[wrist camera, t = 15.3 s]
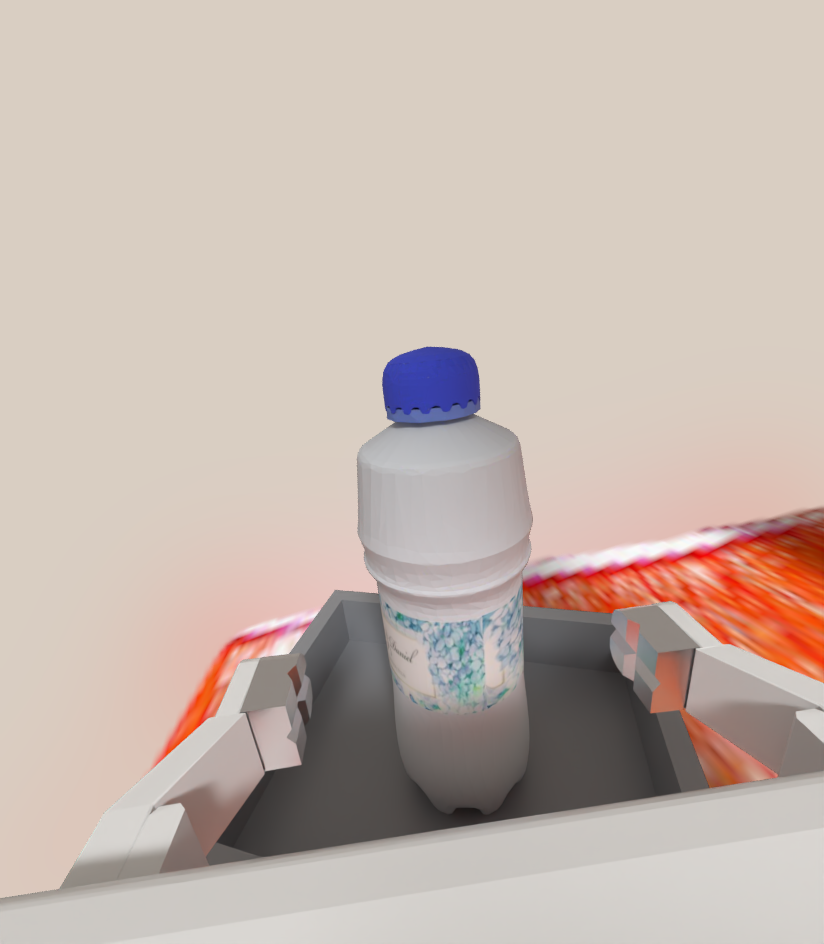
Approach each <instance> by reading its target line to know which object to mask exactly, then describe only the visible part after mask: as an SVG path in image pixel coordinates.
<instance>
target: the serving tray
mask: <svg viewBox="0 0 824 944" xmlns="http://www.w3.org/2000/svg"><path fill="white" fill-rule="evenodd" d="M611 619H612V614H610V613H598V612H587V611H575V610H563V609H552V608H540V607H528V606H523V649H524V680H525V689H526V697H527V706H528V716H529V734H530V739H529V755H528V762H527V767H526V771H525V773H524V775H523V777H522V779H521V780H520V781H519V782H518V783H515V785H514V786H513V787H512V789H511V790H510V791H509V792H508V794H507V796H506V798H505V799H504V801H503V803H502V805H501V806H500V807H499V808H498V809H497V810H496V811H494V812H492V813H491V814H488V815H485V814H483V813H482V812H481V811H480V810H479V809H477V808H456V809H455V810H454V812H453V813H452V814H446V813H444V812H441V811H439V810H438V809H437V808H436V807H435V806H434V805H433V804H432V802H431V801H430V799H429V798H428V797H427V795H426V794H425V793H424V791H423V790H422V789H421V788H420V787H419V786H418V784H417V783H416V782H414V781H413V780H412V779H410V777H409V776H408V774H407V773H406V770H405V767H404V764H403V761H402V758H401V755H400V750H399V745H398V739H397V731H396V722H395V708H394V691H393V680H392V673H391V668H390V662H389V656H388V649H387V643H386V637H385V630H384V624H383V618H382V612H381V605H380V599H379V594H376V593H365V592H353V591H340V590H335V591H334V593H333V594H332V595H331V597H330V598H329V599H328V601H327V602H326V603H325V605H324V606H323V608H322V609H321V610H320V612H319V613H318V614H317V616H316V617H315V619H314V620H313V621H312V623H311V624H310V626H309V627H308V628H307V630H306V631H305V633H304V634H303V635H302V637H301V638H300V639H299V641H298V642H297V644H296V645H295V646H294V648H293V649H292V651H291V652H290V653H289V654H296V653H302V654H303V655H304V658H305V661H306V669H305V675H306V676H307V677H309V678H310V682H311V686H312V712H311V718H310V720H309V722H308V723H307V724H306V725H305V726H304V727H305V731H306V735H307V739H306V744H305V749H304V755H303V760H302V765H297V766H292V767H286V768H281V769H275V770H269V771H264V772H265V774H264V776H263V777H262V778H261V780H260V781H259V783H258V784H257V785H256V787H255V788H254V790H253V791H252V792H251V794H250V795H249V797H248V798H247V799H246V801H245V802H244V804H243V805H242V807H241V808H240V809H239V811H238V812H237V814H236V815H235V816H234V818H233V819H232V821H231V822H230V823H229V825H228V826H227V828H226V829H225V830H224V832H223V833H222V835H221V836H220V837H219V839H218V840H217V842H216V843H215V844H214V846H213V847H212V849H211V850H210V851H209V853H208V854H207V856H206V859H207V861H208V864H209V866H211V865H218V864H224V863H231V862H237V861H244V860H250V859H257V858H263V857H269V856H276V855H282V854H289V853H295V852H302V851H308V850H315V849H321V848H327V847H334V846H340V845H347V844H353V843H360V842H366V841H373V840H379V839H385V838H392V837H398V836H405V835H411V834H418V833H424V832H431V831H437V830H444V829H450V828H456V827H463V826H469V825H476V824H482V823H489V822H495V821H502V820H508V819H515V818H521V817H528V816H534V815H541V814H547V813H554V812H560V811H567V810H573V809H580V808H586V807H592V806H599V805H605V804H612V803H618V802H624V801H631V800H637V799H643V798H650V797H656V796H662V795H669V794H675V793H682V792H688V791H694V790H701V789H707V788H709V785H708V783H707V780H706V778H705V775H704V773H703V770H702V767H701V765H700V762H699V760H698V757H697V754H696V752H695V749H694V747H693V744H692V742H691V739H690V736H689V734H688V731H687V729H686V726H685V724H684V721H683V718H682V716H681V713H680V711H679V710H675V711H667V712H658V713H650V712H649V711H648V709H647V708H646V707H645V705H644V704H643V703H642V701H641V700H640V698H639V697H638V696H637V694H636V693H635V692H634V690H633V686H634V681H632V680H631V679H629V678H627V677H625V676H624V675H622V673H621V672H620V671H619V669H618V668H617V666H616V664H615V662H614V660H613V658H612V654H611V650H610V636H611V635H612V634H613V632H614V631H615V630H616V628H615V627H614V625H613V624H612V623H611Z"/></svg>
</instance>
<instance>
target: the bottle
mask: <svg viewBox="0 0 824 944" xmlns="http://www.w3.org/2000/svg"><path fill="white" fill-rule="evenodd" d="M382 386H383V394H384V401H385V408H386V411H387V418H388V419H389V420H392V421H394V422H395V423H394V424H392V425H390V426H389V427H388V428H386V429H385V430H383V431H382V432H380V433H379V434H378V435H376V436H375V437H373V438H372V439H370V440H369V441H368V442H366V443H365V444H364V445H362V447H361V448H360V450H359V452H358V456H357V475H358V476H357V477H358V535H359V538H360V540H361V542H362V544H363V546H364V549H365V552H364V561H365V565H366V568H367V570H368V571H369V573H370V574H371V575H372V576H373V577H374V579H375V580H376V581H377V586H378V593H379V599H380V605H381V612H382V618H383V624H384V630H385V637H386V643H387V649H388V656H389V662H390V668H391V673H392V680H393V691H394V708H395V722H396V731H397V739H398V745H399V750H400V755H401V758H402V761H403V764H404V767H405V770H406V773H407V774H408V776H409V777H410V779H412V780H413V781H414V782H416V783H417V784H418V786H419V787H420V788H421V789H422V790H423V791H424V793H425V794H426V795H427V797H428V798H429V799H430V801H431V802H432V804H433V805H434V806H435V807H436V808H437V809H438V810H439V811H441V812H444V813H446V814H452V813H453V812H454V810H455V809H456V808H477V809H479V810H480V811H481V812H482V813H483V814H485V815H488V814H491V813H492V812H494V811H496V810H497V809H498V808H499V807H500V806H501V805H502V803H503V801H504V799H505V798H506V796H507V794H508V792H509V791H510V790H511V789H512V787H513V786H514V785H515V783H518V782H519V781H520V780H521V779H522V777H523V775H524V773H525V771H526V767H527V762H528V755H529V739H530V734H529V716H528V706H527V697H526V689H525V680H524V649H523V589H522V571H523V569H524V567H525V566H526V564H527V563H528V560H529V557H530V553H531V543H530V540H529V534H530V530H531V527H532V522H533V517H532V512H531V508H530V504H529V498H528V492H527V487H526V479H525V473H524V466H523V459H522V453H521V447H520V442H519V440H518V437H517V436H516V435H515V434H514V433H513V432H511V431H510V430H509V429H507V428H504V427H502V426H500V425H497V424H495V423H493V422H491V421H488V420H486V419H484V418H481V417H479V416H477V415H474V413H476V412H477V411H478V410H480V384H479V374H478V369H477V366H476V363H475V360H474V359H473V358H472V357H471V356H470V354H468V353H466V352H463V351H462V350H458V349H451V348H444V347H424V348H421V349H417V350H413V351H410V352H407V353H404V354H401V355H399V356H397V357H395V358H394V359H392V360H391V361H390V362H388V364H387V366H386V368H385V369H384V372H383V384H382Z"/></svg>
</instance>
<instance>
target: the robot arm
mask: <svg viewBox="0 0 824 944" xmlns="http://www.w3.org/2000/svg"><path fill="white" fill-rule="evenodd" d="M611 623H612V624H613V625H614V627H615V628H616V630H615V631H614V632H613V634H612V635H611V636H610V650H611V654H612V658H613V660H614V662H615V664H616V666H617V668H618V669H619V671H620V672H621V673H622V675H624V676H625V677H627V678H629V679H631V680H632V681H634V686H633V690H634V692H635V693H636V694H637V696H638V697H639V698H640V700H641V701H642V703H643V704H644V705H645V707H646V708H647V709H648V711H649V712H650V713H658V712H667V711H675V710H684V709H686V712H687V713H689V714H690V715H692V716H693V717H695V718H696V719H698V720H699V721H701V722H702V723H704V724H705V725H707V726H708V727H709V728H711V729H712V730H714V731H715V732H717V733H718V734H720V735H721V736H723V737H724V738H726V739H727V740H729V741H730V742H731V743H733V744H734V745H736V746H737V747H739V748H740V749H742V750H743V751H745V752H746V753H748V754H749V755H751V756H752V757H753V758H755V759H756V760H758V761H759V762H761V763H762V764H764V765H765V766H767V767H768V768H770V769H771V770H773V771H774V772H776V773H777V774H778V777H777V778H772V779H765V780H759V781H752V782H746V783H739V784H733V785H727V786H720V787H714V788H707V789H701V790H694V791H688V792H682V793H675V794H669V795H662V796H656V797H650V798H643V799H637V800H631V801H624V802H618V803H612V804H605V805H599V806H592V807H586V808H580V809H573V810H567V811H560V812H554V813H547V814H541V815H534V816H528V817H521V818H515V819H508V820H502V821H495V822H489V823H482V824H476V825H469V826H463V827H456V828H450V829H444V830H437V831H431V832H424V833H418V834H411V835H405V836H398V837H392V838H385V839H379V840H373V841H366V842H360V843H353V844H347V845H340V846H334V847H327V848H321V849H315V850H308V851H302V852H295V853H289V854H282V855H276V856H269V857H263V858H257V859H250V860H244V861H237V862H231V863H224V864H218V865H211V866H209V864H208V861H207V859H206V856H207V854H208V853H209V851H210V850H211V849H212V847H213V846H214V844H215V843H216V842H217V840H218V839H219V837H220V836H221V835H222V833H223V832H224V830H225V829H226V828H227V826H228V825H229V823H230V822H231V821H232V819H233V818H234V816H235V815H236V814H237V812H238V811H239V809H240V808H241V807H242V805H243V804H244V802H245V801H246V799H247V798H248V797H249V795H250V794H251V792H252V791H253V790H254V788H255V787H256V785H257V784H258V783H259V781H260V780H261V778H262V777H263V776H264V774H265V772H264V771H269V770H275V769H281V768H286V767H292V766H297V765H302V760H303V755H304V749H305V744H306V739H307V735H306V731H305V727H304V726H305V725H306V724H307V723H308V722H309V720H310V718H311V712H312V686H311V682H310V678H309V677H307V676H306V675H305V669H306V661H305V658H304V655H303V654H302V653H296V654H287V655H278V656H269V657H263V658H255V659H246V660H242V661H241V662H240V663H239V664H238V666H237V668H236V671H235V673H234V675H233V677H232V680H231V682H230V684H229V686H228V689H227V691H226V693H225V695H224V698H223V700H222V702H221V704H220V707H219V709H218V711H217V713H216V716H215V717H212V718H208V719H207V720H206V721H205V722H204V723H203V724H201V725H200V726H199V727H198V728H197V729H196V730H195V731H194V732H193V733H192V734H190V735H189V736H188V737H187V738H186V739H185V740H184V741H183V742H182V743H180V744H179V745H178V746H177V747H176V748H175V749H174V750H173V751H172V752H171V753H169V754H168V755H167V756H166V757H165V758H164V759H163V760H162V761H161V762H159V763H158V764H157V765H156V766H155V767H154V768H153V769H152V770H151V771H150V772H148V773H147V774H146V775H145V776H144V777H143V778H142V779H141V780H140V781H139V782H137V783H136V784H135V785H134V786H133V787H132V788H131V789H130V790H129V791H127V792H126V793H125V794H124V795H123V796H122V797H121V798H120V799H119V800H117V801H116V802H115V803H114V804H113V805H112V806H111V807H110V808H109V809H108V810H106V811H105V812H104V814H103V816H102V818H101V819H100V821H99V823H98V824H97V826H96V828H95V829H94V831H93V833H92V835H91V836H90V838H89V840H88V841H87V843H86V845H85V846H84V848H83V850H82V851H81V853H80V855H79V857H78V858H77V860H76V862H75V863H74V865H73V867H72V869H71V870H70V872H69V874H68V875H67V877H66V879H65V880H64V882H63V884H62V885H61V887H60V889H57V890H50V891H44V892H37V893H32V894H25V895H18V896H12V897H5V898H0V944H824V683H822V682H819V681H817V680H814V679H812V678H810V677H807V676H805V675H802V674H800V673H798V672H795V671H793V670H790V669H788V668H786V667H783V666H781V665H778V664H776V663H774V662H771V661H769V660H766V659H764V658H762V657H759V656H757V655H754V654H752V653H750V652H747V651H745V650H742V649H740V648H737V647H735V646H733V645H730V644H726V645H723V644H722V643H721V642H719V641H718V640H717V639H716V638H715V637H714V636H713V635H712V634H710V633H709V632H708V631H707V630H706V629H705V628H704V627H703V626H701V625H700V624H699V623H698V622H697V621H696V620H695V619H694V618H692V617H691V616H690V615H689V614H688V613H687V612H686V611H685V610H683V609H682V608H681V607H680V606H679V605H678V604H676V603H674V602H672V601H669V602H662V603H656V604H652V605H645V606H638V607H631V608H624V609H617V610H614V612H613V614H612V619H611Z"/></svg>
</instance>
